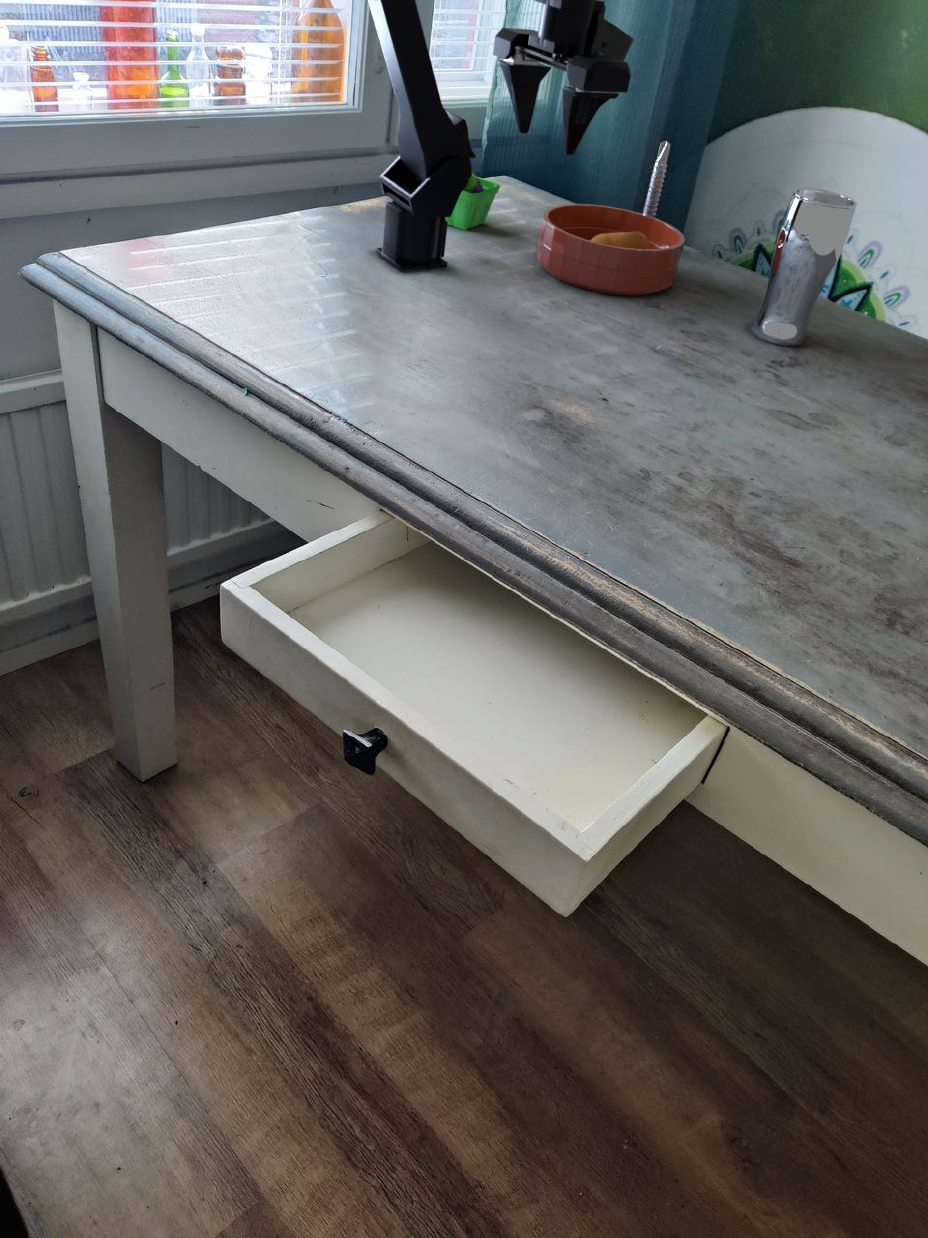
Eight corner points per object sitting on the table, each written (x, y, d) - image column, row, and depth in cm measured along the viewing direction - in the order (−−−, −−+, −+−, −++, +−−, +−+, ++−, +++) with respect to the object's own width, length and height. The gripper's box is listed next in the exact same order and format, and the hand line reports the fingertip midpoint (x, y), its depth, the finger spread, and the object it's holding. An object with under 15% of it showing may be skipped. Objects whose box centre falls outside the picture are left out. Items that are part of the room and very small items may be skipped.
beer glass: (809, 332, 110) (859, 196, 101) (806, 353, 105) (858, 211, 96) (749, 318, 111) (793, 182, 102) (744, 337, 106) (789, 196, 97)
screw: (618, 237, 130) (650, 239, 132) (632, 249, 127) (664, 251, 128) (641, 133, 122) (675, 136, 124) (656, 143, 119) (691, 146, 120)
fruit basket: (497, 223, 128) (511, 132, 121) (463, 236, 122) (475, 140, 115) (427, 201, 132) (436, 111, 125) (390, 212, 126) (398, 118, 119)
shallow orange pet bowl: (628, 308, 109) (640, 260, 105) (508, 262, 116) (515, 215, 113) (696, 280, 120) (708, 235, 117) (582, 239, 127) (591, 196, 124)
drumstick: (631, 257, 122) (640, 225, 119) (651, 270, 119) (661, 238, 117) (555, 263, 116) (562, 230, 113) (574, 277, 114) (582, 243, 111)
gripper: (686, 5, 99) (648, 165, 109) (579, -24, 111) (554, 123, 121) (603, -3, 94) (572, 166, 104) (500, -32, 106) (481, 122, 115)
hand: (545, 143), depth 111 cm, fingers open, 9 cm apart
